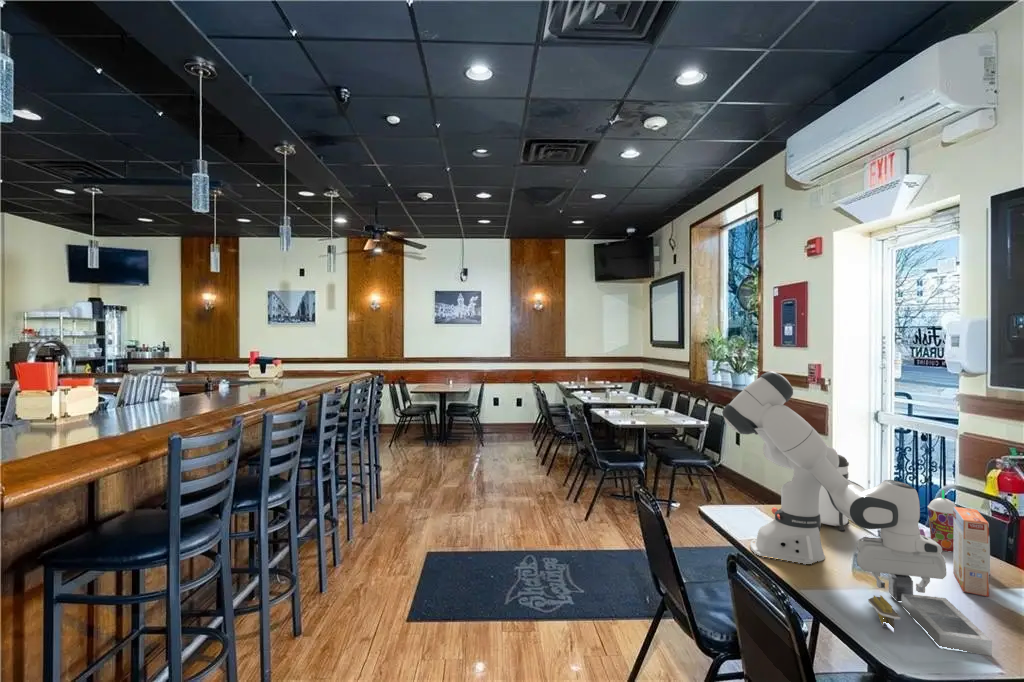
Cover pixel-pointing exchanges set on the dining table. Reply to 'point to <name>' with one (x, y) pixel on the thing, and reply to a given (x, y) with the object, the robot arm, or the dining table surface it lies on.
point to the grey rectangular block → (900, 585)
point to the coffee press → (825, 506)
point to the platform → (884, 610)
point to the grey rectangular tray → (946, 624)
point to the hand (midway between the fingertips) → (900, 589)
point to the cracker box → (971, 551)
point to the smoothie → (942, 522)
